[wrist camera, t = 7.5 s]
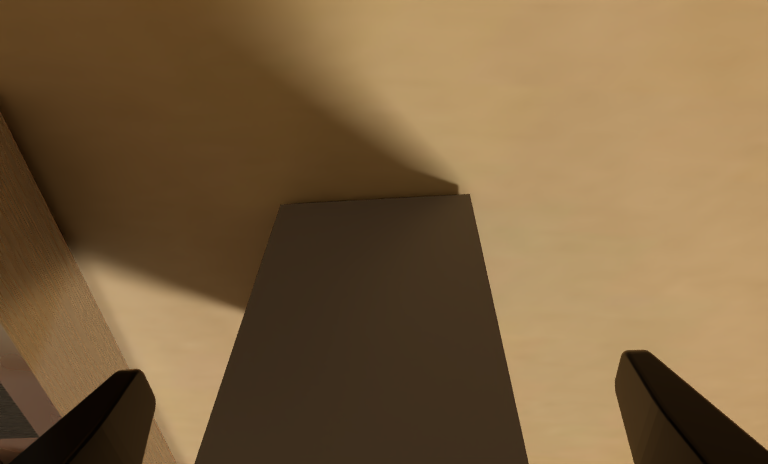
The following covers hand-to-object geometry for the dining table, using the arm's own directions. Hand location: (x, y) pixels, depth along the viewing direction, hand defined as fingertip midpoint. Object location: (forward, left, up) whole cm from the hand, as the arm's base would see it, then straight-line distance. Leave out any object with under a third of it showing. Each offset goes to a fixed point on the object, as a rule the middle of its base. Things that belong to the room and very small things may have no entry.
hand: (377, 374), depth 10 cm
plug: (0, 0, -3) cm, 3 cm away
